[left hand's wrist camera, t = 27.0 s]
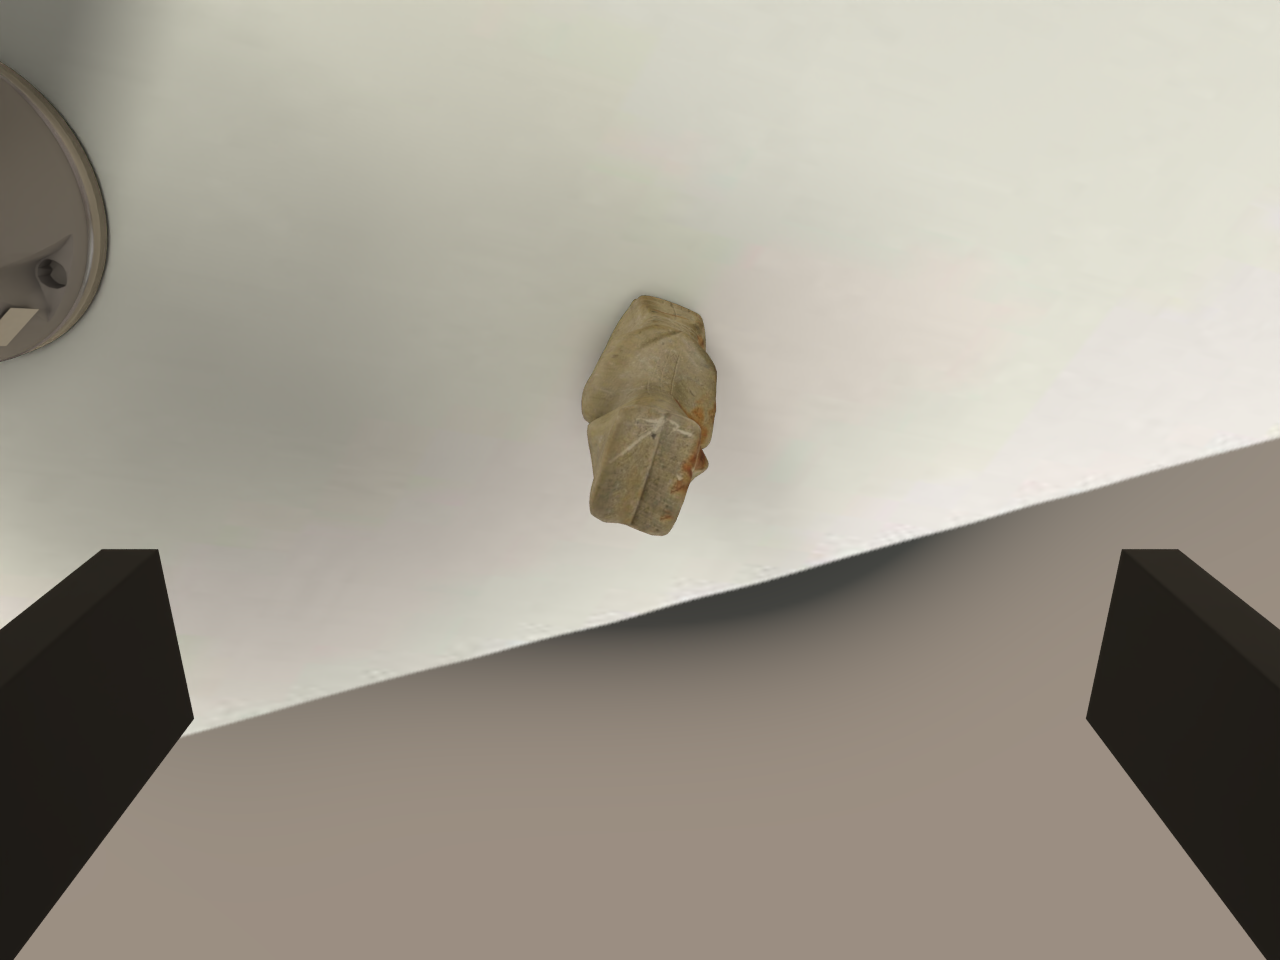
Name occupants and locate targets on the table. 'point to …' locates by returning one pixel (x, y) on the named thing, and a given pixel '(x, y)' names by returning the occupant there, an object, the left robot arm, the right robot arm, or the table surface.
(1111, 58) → the table surface
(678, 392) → the sculpture
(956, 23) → the table surface
